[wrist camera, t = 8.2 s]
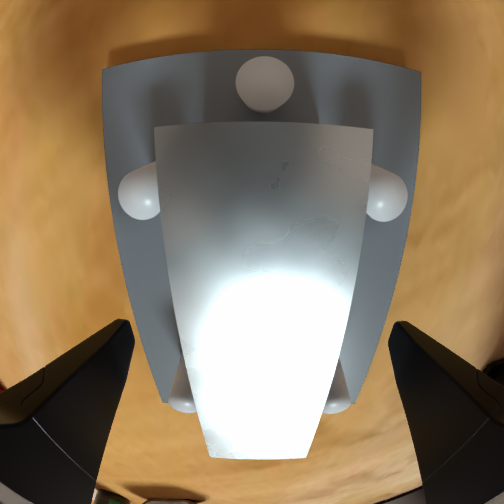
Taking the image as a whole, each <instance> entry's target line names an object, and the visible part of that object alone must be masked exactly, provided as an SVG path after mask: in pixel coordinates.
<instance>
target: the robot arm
mask: <svg viewBox="0 0 504 504" xmlns="http://www.w3.org/2000/svg"><path fill="white" fill-rule="evenodd" d="M134 345H135V338H134V335H133V331H132V328H131V325H130V322H129V321H128V320H124V319H117V320H115V321H113V322H112V323H110V324H109V325H107V326H106V327H104V328H103V329H101V330H99V331H98V332H96V333H95V334H93V335H92V336H90V337H89V338H87V339H86V340H84V341H83V342H81V343H80V344H78V345H76V346H75V347H73V348H72V349H70V350H69V351H67V352H66V353H64V354H63V355H61V356H60V357H58V358H57V359H55V360H54V361H52V362H51V363H49V364H48V365H46V366H45V367H43V368H42V369H40V370H39V371H37V372H36V373H34V374H32V375H31V376H29V377H28V378H26V379H24V380H23V381H21V382H19V383H17V384H16V385H14V386H12V387H10V388H8V389H7V390H5V391H3V392H1V393H0V504H91V502H92V497H93V493H94V489H95V485H96V480H97V476H98V472H99V468H100V465H101V461H102V457H103V454H104V450H105V447H106V443H107V440H108V436H109V433H110V430H111V426H112V423H113V420H114V417H115V413H116V410H117V407H118V404H119V401H120V398H121V395H122V392H123V389H124V386H125V383H126V379H127V375H128V371H129V366H130V362H131V358H132V353H133V349H134ZM388 347H389V351H390V356H391V360H392V365H393V370H394V375H395V380H396V384H397V387H398V390H399V394H400V397H401V400H402V404H403V407H404V410H405V414H406V417H407V421H408V425H409V428H410V432H411V436H412V440H413V444H414V448H415V452H416V456H417V461H418V465H419V470H420V474H421V479H422V482H423V483H422V485H423V490H424V495H425V501H426V504H504V359H502V360H499V361H496V362H493V363H491V364H490V365H489V366H488V367H487V369H486V371H485V372H484V373H483V372H481V371H480V370H478V369H477V370H476V368H475V367H474V366H472V365H471V364H470V363H468V362H467V361H465V360H464V359H462V358H461V357H459V356H458V355H456V354H455V353H453V352H452V351H451V350H449V349H448V348H446V347H445V346H443V345H442V344H440V343H439V342H437V341H436V340H434V339H433V338H431V337H430V336H428V335H427V334H425V333H424V332H422V331H421V330H419V329H418V328H416V327H415V326H413V325H412V324H410V323H409V322H407V321H397V322H395V323H394V325H393V328H392V331H391V334H390V337H389V340H388Z"/></svg>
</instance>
